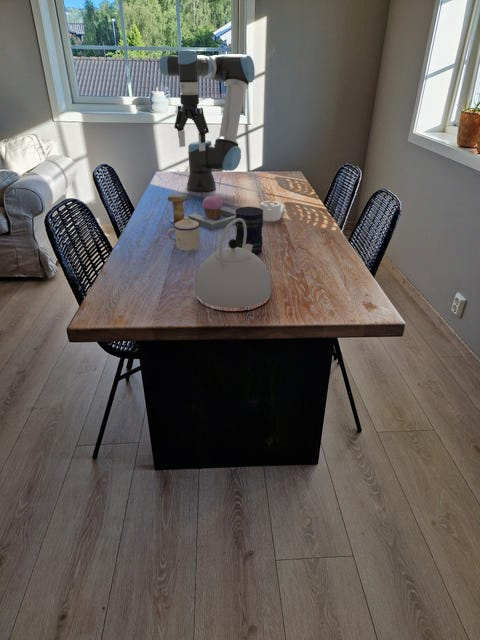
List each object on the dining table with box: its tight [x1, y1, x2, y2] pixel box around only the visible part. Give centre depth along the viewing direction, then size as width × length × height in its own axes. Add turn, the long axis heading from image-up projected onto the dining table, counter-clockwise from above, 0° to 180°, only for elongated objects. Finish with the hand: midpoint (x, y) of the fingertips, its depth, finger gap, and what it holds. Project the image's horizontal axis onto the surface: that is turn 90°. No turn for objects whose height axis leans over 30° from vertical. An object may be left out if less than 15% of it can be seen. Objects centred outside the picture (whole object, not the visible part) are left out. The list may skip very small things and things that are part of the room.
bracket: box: [260, 200, 285, 222], centre depth 199 cm, size 20×9×7 cm, turn 167°
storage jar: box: [234, 206, 264, 256], centre depth 159 cm, size 10×10×15 cm
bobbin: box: [167, 193, 188, 224], centre depth 187 cm, size 8×8×11 cm
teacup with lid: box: [166, 215, 201, 251], centre depth 163 cm, size 12×9×12 cm
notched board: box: [187, 206, 236, 231], centre depth 192 cm, size 16×20×2 cm
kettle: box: [195, 218, 272, 308], centre depth 129 cm, size 25×23×23 cm
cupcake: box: [201, 195, 224, 221], centre depth 192 cm, size 9×9×10 cm
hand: (192, 148), depth 193 cm, fingers open, 13 cm apart
